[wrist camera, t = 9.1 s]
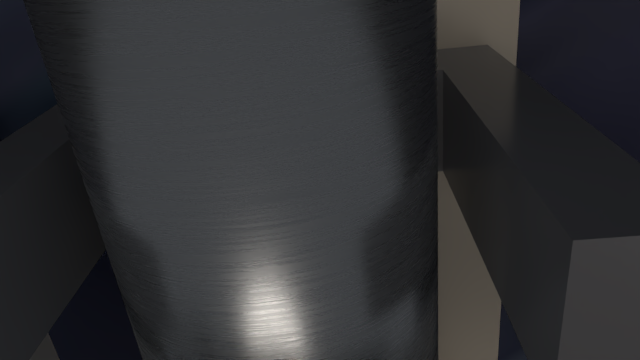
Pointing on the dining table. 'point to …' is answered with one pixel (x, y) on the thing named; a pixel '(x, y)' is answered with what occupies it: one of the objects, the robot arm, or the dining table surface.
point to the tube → (258, 169)
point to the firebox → (453, 212)
